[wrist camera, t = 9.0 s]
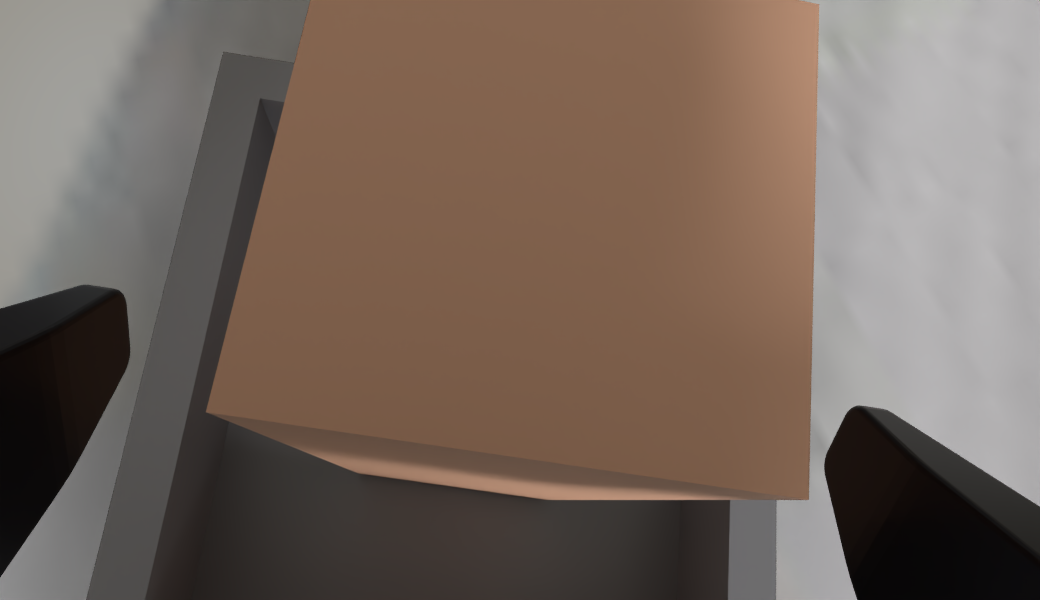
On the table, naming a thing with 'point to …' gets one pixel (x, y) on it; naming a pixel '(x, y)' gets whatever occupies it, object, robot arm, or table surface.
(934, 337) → the table surface
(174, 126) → the table surface
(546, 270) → the terracotta block
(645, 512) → the box
